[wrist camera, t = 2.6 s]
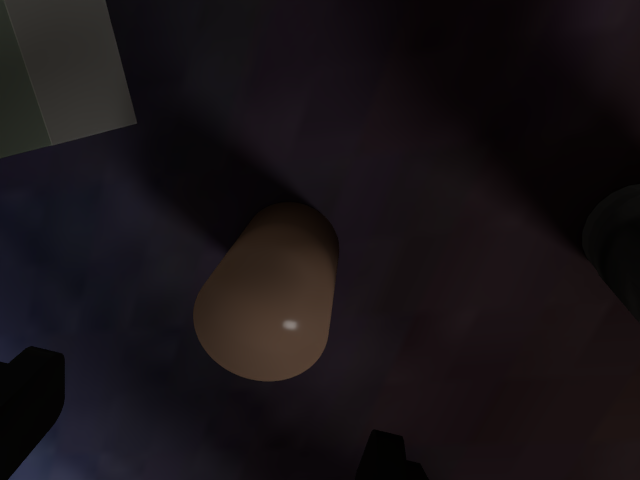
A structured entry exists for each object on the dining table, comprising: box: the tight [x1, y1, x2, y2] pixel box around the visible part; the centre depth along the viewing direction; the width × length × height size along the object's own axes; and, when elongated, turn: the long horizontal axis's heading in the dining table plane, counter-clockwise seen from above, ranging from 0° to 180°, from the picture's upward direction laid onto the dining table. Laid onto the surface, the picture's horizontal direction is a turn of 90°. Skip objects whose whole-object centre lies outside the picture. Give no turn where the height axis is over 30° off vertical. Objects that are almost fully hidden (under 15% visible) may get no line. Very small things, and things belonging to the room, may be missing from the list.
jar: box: [193, 202, 339, 381], centre depth 19 cm, size 5×5×7 cm
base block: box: [4, 0, 137, 146], centre depth 17 cm, size 6×6×6 cm
